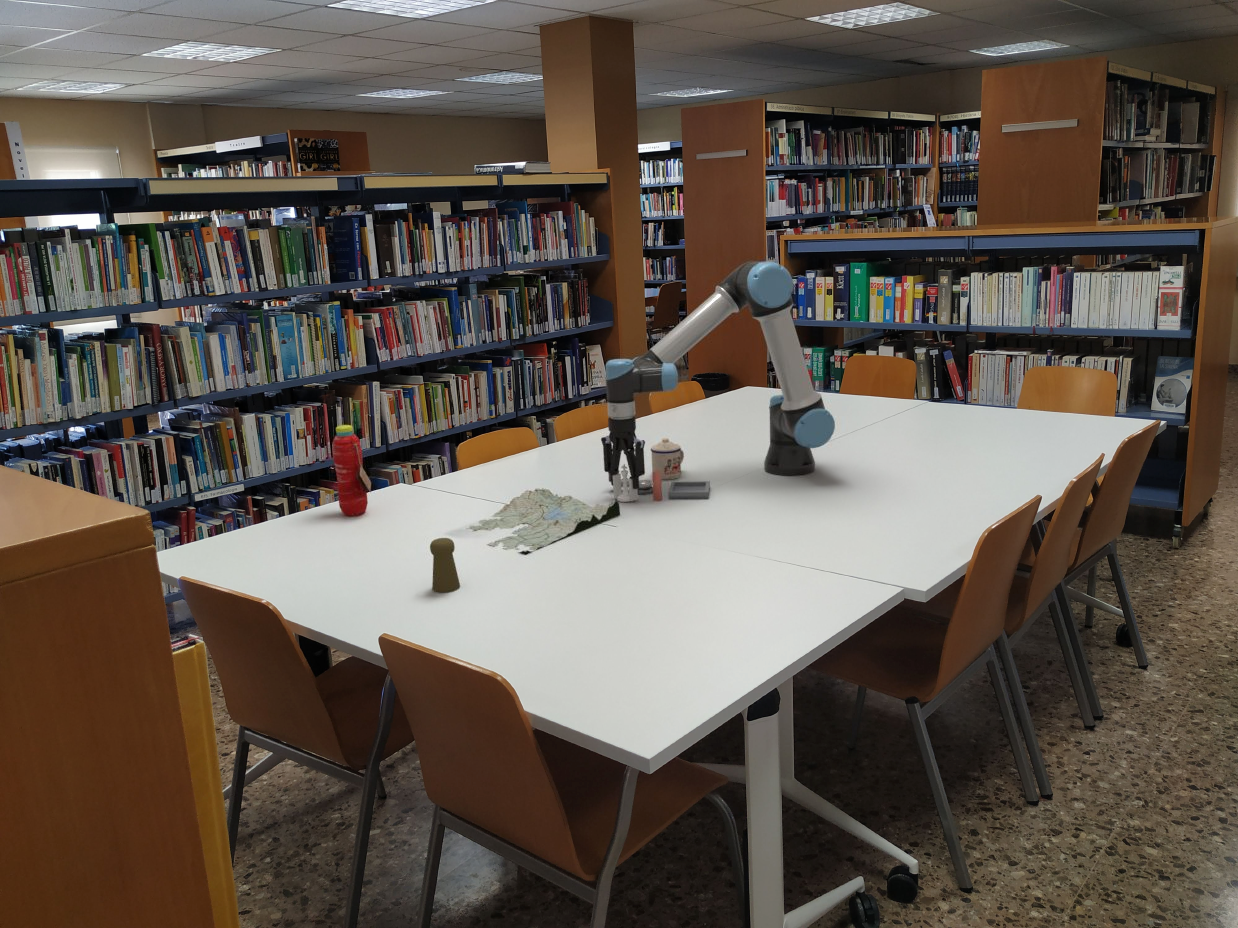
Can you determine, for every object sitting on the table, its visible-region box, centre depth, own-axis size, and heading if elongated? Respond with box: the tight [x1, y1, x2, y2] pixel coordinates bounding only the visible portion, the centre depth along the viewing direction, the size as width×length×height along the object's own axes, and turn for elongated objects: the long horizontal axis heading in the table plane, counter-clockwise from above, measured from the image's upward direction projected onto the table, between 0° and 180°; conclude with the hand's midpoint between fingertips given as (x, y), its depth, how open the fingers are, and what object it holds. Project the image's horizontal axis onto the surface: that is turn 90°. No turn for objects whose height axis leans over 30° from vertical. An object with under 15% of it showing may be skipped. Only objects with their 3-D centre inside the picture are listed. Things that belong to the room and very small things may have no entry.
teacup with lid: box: [650, 437, 685, 481], centre depth 281 cm, size 12×9×12 cm
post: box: [651, 471, 663, 502], centre depth 257 cm, size 2×2×8 cm
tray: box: [667, 480, 711, 500], centre depth 262 cm, size 11×11×2 cm
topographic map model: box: [466, 487, 621, 555], centre depth 242 cm, size 36×29×5 cm
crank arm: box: [607, 469, 653, 489], centre depth 266 cm, size 13×4×9 cm, turn 73°
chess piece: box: [616, 463, 631, 503], centre depth 258 cm, size 5×5×10 cm
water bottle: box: [331, 424, 372, 517], centre depth 255 cm, size 12×8×25 cm, turn 52°
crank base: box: [637, 486, 653, 496], centre depth 266 cm, size 6×6×1 cm
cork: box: [429, 537, 461, 594], centre depth 201 cm, size 6×6×11 cm
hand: (625, 498), depth 259 cm, fingers closed on chess piece, 5 cm apart
